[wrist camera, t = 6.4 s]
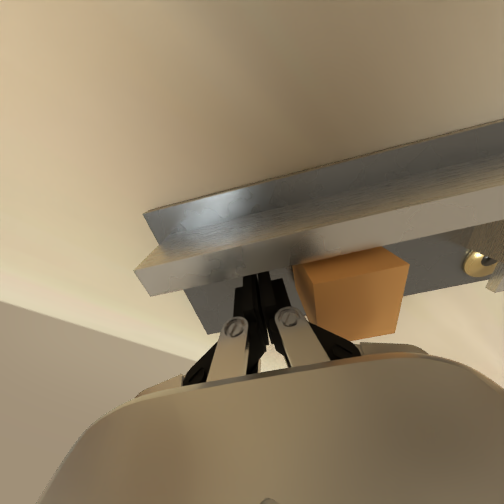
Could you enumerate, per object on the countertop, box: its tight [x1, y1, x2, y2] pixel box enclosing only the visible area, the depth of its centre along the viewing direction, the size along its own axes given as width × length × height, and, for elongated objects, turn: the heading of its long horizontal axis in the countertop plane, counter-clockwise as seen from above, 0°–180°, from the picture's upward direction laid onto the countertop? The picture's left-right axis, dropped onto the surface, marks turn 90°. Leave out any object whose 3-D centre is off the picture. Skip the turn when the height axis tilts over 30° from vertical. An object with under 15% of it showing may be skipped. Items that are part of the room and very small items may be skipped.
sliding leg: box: [292, 246, 410, 341], centre depth 12 cm, size 8×4×5 cm, turn 13°
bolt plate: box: [134, 119, 504, 334], centre depth 11 cm, size 12×26×6 cm, turn 103°
